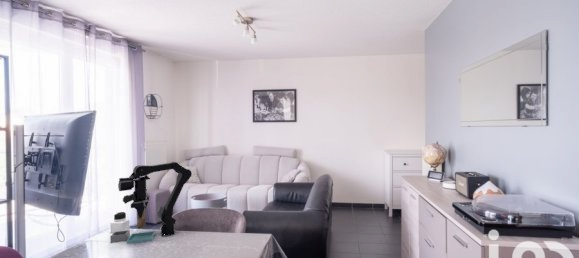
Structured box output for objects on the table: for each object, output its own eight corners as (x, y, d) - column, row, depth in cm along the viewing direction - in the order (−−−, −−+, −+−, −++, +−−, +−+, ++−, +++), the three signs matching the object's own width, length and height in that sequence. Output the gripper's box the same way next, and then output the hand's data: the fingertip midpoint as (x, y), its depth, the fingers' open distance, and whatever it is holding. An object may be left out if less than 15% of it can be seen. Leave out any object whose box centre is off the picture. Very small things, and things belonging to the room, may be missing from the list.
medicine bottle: (129, 231, 174) (129, 211, 174) (121, 235, 166) (121, 214, 167) (118, 230, 174) (118, 211, 175) (110, 235, 167) (110, 214, 167)
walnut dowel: (146, 225, 159) (145, 207, 160) (144, 227, 156) (144, 209, 156) (138, 226, 158) (137, 208, 158) (136, 228, 154) (136, 209, 155)
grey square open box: (129, 238, 161) (129, 230, 161) (126, 242, 154) (126, 234, 154) (114, 239, 159) (114, 231, 159) (110, 244, 152) (110, 236, 152)
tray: (155, 235, 164) (155, 231, 164) (151, 242, 153) (151, 238, 153) (132, 238, 161) (131, 233, 161) (126, 246, 149) (126, 241, 149)
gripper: (128, 186, 164) (129, 214, 164) (119, 192, 146) (119, 223, 146) (149, 185, 167) (150, 212, 167) (143, 191, 149) (144, 221, 149)
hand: (141, 216), depth 157 cm, fingers closed on walnut dowel, 4 cm apart
